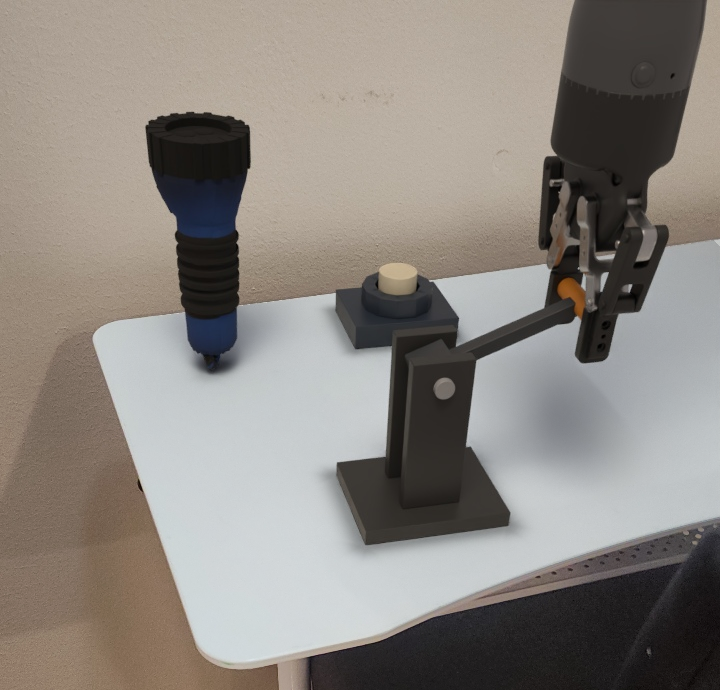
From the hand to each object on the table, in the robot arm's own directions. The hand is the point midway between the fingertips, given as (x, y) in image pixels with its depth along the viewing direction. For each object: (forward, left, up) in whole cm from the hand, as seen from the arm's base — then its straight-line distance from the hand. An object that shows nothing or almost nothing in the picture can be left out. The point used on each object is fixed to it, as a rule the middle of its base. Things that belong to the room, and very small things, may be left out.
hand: (573, 339), depth 70 cm
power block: (+4, -28, -12) cm, 31 cm away
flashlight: (+22, -24, -12) cm, 35 cm away
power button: (+4, -28, -8) cm, 30 cm away
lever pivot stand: (+10, 0, -12) cm, 16 cm away
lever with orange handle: (+5, 0, 0) cm, 5 cm away
